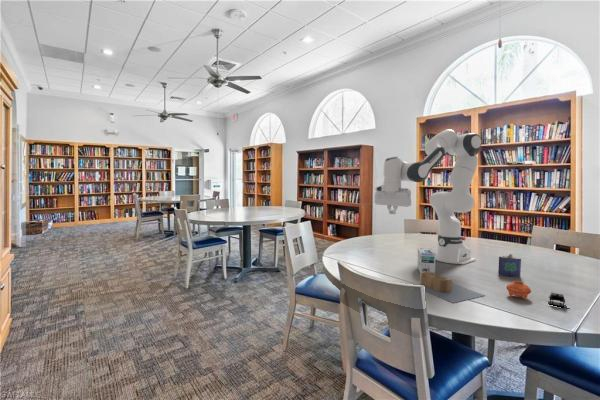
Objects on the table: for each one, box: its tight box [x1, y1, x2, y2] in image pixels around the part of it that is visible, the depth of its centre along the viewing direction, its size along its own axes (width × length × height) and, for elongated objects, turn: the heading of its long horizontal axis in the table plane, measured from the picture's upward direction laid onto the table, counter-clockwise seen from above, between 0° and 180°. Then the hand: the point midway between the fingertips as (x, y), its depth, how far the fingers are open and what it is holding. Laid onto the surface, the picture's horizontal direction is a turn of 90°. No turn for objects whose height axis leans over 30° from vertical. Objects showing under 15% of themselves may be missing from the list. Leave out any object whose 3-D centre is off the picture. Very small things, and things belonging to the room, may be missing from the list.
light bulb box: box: [417, 247, 436, 274], centre depth 152 cm, size 11×7×11 cm, turn 168°
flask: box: [497, 253, 522, 277], centre depth 146 cm, size 9×3×11 cm, turn 74°
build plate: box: [547, 292, 570, 309], centre depth 113 cm, size 12×7×5 cm, turn 52°
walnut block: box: [419, 271, 452, 293], centre depth 130 cm, size 5×5×12 cm
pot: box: [506, 280, 532, 301], centre depth 120 cm, size 8×8×7 cm
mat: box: [423, 283, 486, 304], centre depth 126 cm, size 18×18×1 cm
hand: (392, 214), depth 161 cm, fingers closed
